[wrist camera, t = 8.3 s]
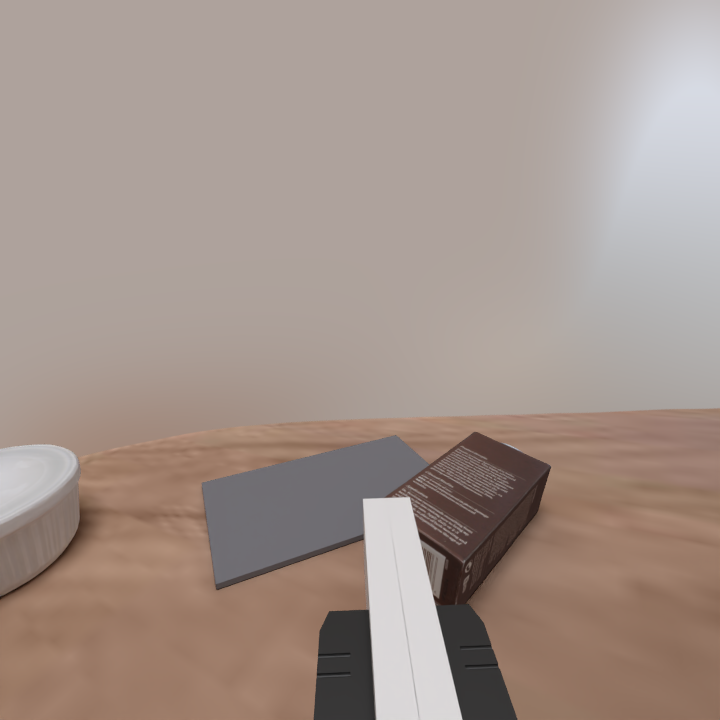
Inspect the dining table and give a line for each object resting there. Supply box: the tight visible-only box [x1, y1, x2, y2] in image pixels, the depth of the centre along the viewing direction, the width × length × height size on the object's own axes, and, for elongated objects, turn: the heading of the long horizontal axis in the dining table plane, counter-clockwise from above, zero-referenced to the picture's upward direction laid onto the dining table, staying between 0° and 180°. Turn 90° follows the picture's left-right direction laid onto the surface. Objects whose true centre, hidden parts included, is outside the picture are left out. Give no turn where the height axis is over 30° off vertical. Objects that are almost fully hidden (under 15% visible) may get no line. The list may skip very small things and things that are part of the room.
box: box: [384, 432, 551, 605], centre depth 27 cm, size 6×4×12 cm
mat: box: [202, 435, 429, 589], centre depth 32 cm, size 18×11×1 cm, turn 114°
